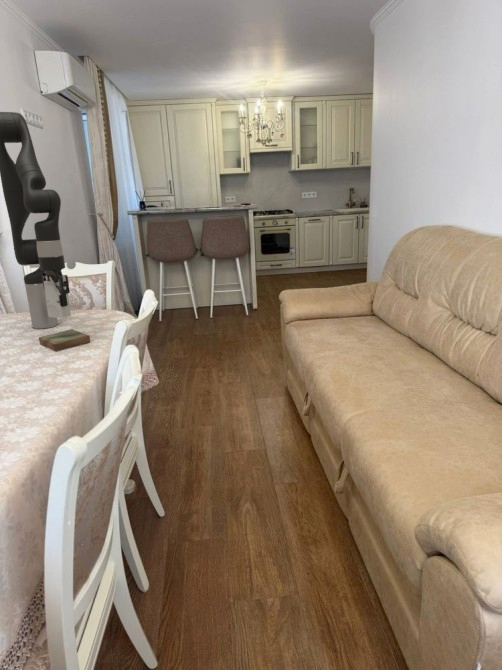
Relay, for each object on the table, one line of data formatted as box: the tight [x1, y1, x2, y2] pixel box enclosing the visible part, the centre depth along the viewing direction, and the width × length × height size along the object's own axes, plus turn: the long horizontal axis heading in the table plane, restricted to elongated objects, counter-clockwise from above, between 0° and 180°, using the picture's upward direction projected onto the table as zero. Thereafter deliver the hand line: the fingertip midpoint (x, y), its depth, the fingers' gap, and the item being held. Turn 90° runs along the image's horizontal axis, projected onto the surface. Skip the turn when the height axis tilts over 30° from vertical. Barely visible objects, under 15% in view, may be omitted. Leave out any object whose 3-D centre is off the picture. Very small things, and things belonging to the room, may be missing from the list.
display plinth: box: [38, 328, 91, 352], centre depth 152 cm, size 12×12×3 cm
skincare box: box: [44, 281, 72, 319], centre depth 148 cm, size 6×4×12 cm
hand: (58, 304), depth 148 cm, fingers closed on skincare box, 7 cm apart
